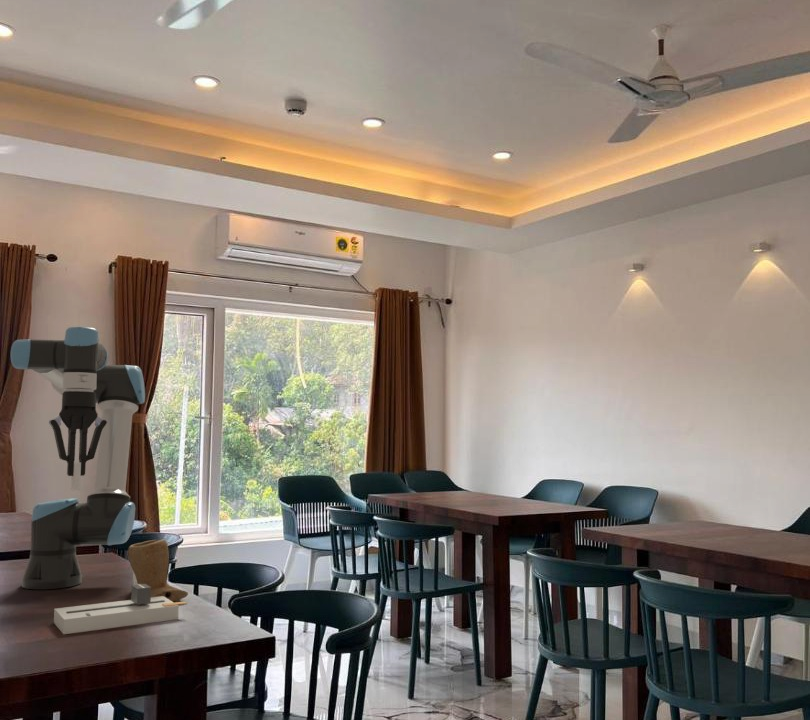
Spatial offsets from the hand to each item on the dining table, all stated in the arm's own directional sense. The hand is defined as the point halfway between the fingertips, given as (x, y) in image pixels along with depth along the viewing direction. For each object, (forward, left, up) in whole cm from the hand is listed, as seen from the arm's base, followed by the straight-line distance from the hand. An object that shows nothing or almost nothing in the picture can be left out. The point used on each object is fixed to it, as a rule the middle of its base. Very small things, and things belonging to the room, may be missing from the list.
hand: (75, 489), depth 182 cm
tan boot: (-2, +20, -29) cm, 35 cm away
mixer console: (+15, +8, -28) cm, 33 cm away
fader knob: (+15, +12, -25) cm, 31 cm away
